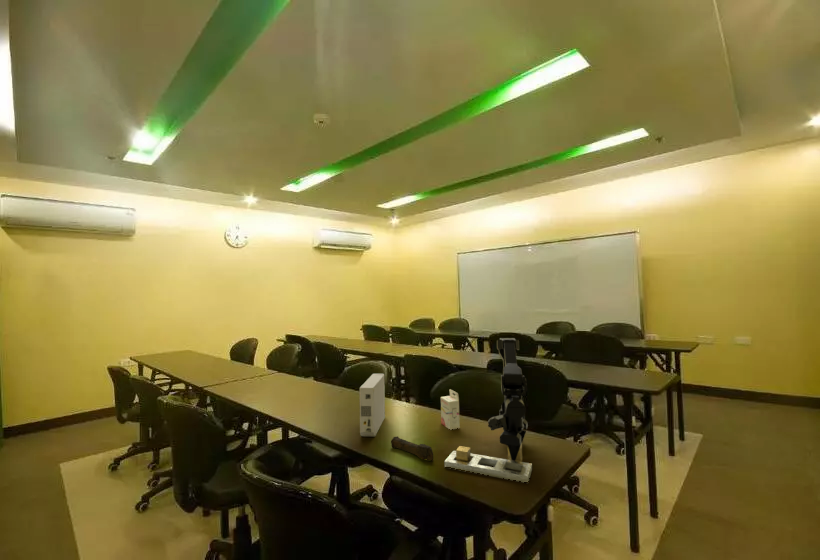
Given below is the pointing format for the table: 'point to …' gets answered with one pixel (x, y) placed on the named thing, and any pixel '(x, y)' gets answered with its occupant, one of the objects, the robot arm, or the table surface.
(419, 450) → the dark brown elongated piece
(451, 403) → the ink cartridge box
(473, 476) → the table surface
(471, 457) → the white slotted tray
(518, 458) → the block
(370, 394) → the game console
